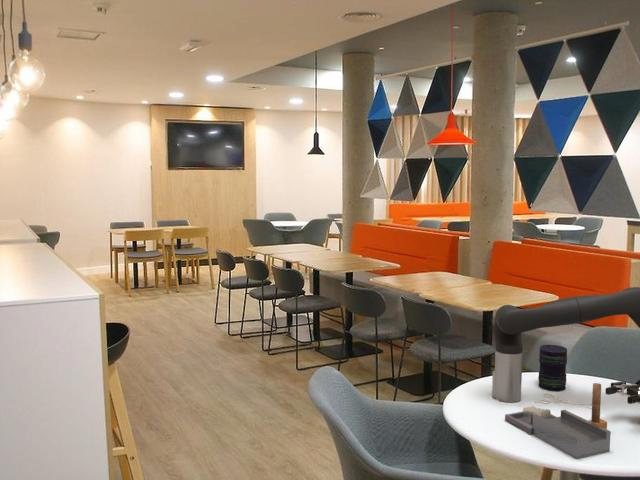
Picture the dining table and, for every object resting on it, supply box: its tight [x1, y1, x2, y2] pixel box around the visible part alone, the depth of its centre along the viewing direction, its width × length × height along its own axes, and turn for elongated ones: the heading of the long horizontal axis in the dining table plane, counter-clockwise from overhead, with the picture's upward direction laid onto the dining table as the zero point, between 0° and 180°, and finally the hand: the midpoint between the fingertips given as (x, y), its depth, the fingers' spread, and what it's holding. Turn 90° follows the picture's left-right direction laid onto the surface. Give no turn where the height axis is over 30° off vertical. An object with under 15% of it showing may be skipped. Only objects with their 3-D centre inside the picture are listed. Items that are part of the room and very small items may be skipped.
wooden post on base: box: [588, 382, 608, 430], centre depth 195 cm, size 3×6×15 cm, turn 112°
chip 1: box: [522, 405, 539, 424], centre depth 202 cm, size 4×4×4 cm
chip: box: [531, 408, 552, 419], centre depth 198 cm, size 4×4×4 cm
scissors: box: [533, 393, 592, 410], centre depth 219 cm, size 11×1×20 cm
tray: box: [504, 408, 557, 435], centre depth 201 cm, size 12×14×2 cm
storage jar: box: [537, 344, 568, 393], centre depth 234 cm, size 10×10×15 cm
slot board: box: [532, 409, 612, 460], centre depth 187 cm, size 18×12×6 cm
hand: (617, 395), depth 197 cm, fingers open, 8 cm apart
